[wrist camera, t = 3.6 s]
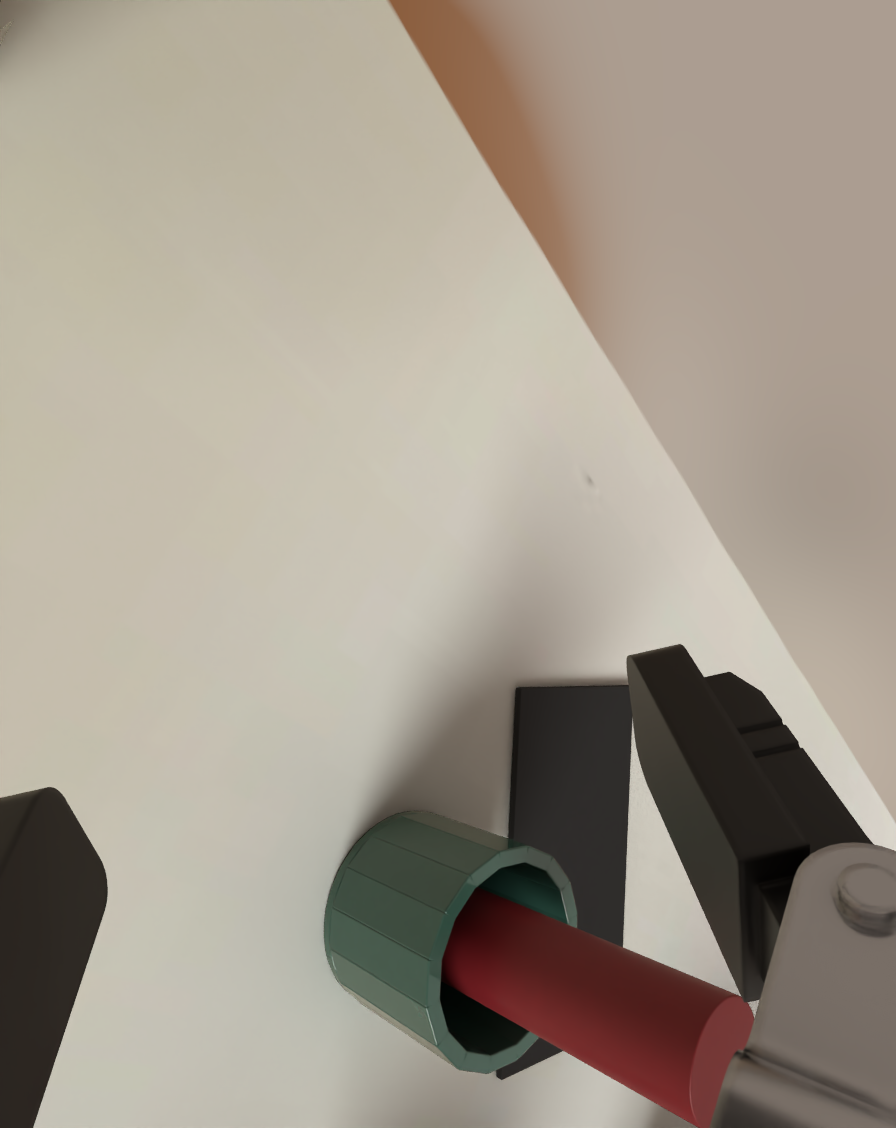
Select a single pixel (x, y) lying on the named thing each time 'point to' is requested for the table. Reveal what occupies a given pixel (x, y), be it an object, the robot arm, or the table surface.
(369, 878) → the tumbler
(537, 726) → the mat
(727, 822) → the robot arm
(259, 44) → the table surface
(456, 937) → the candle
